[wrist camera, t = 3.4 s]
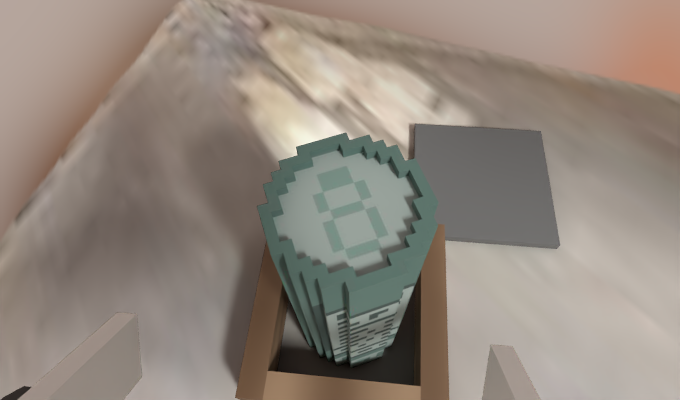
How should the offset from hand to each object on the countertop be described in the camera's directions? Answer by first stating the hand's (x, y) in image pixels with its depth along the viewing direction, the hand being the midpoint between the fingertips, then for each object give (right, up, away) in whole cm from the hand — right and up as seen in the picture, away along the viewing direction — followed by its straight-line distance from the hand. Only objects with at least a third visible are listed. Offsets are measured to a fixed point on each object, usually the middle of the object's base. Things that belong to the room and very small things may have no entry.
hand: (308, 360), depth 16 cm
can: (+2, -2, +12) cm, 13 cm away
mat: (+12, +7, +17) cm, 22 cm away
